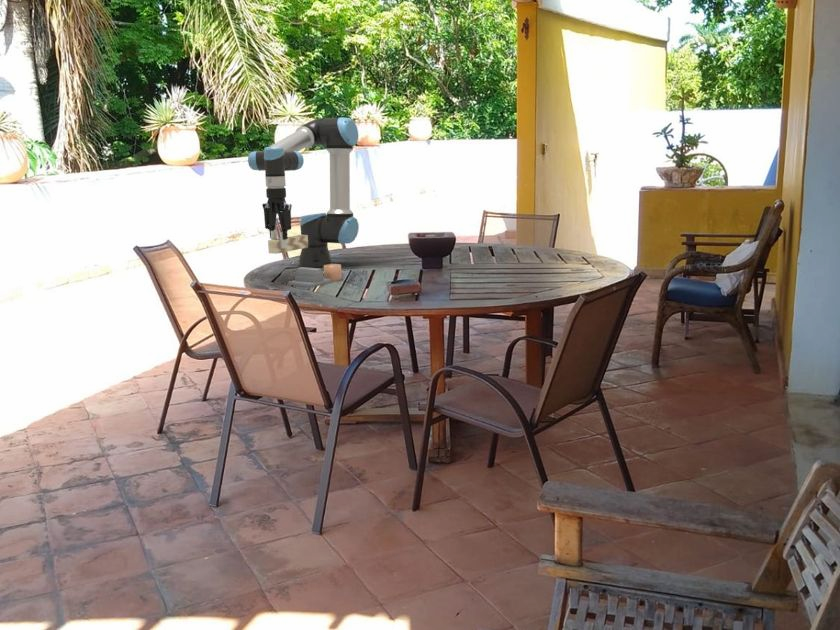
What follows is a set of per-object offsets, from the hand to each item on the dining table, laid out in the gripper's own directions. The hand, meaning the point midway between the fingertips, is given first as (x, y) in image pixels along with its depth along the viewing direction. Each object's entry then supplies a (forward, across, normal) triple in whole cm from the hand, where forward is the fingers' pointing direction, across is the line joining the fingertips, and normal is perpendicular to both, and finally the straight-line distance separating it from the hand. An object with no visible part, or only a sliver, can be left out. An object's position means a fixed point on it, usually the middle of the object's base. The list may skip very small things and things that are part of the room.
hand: (279, 247), depth 317 cm
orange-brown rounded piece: (+15, +12, +17) cm, 26 cm away
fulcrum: (+15, +9, +6) cm, 18 cm away
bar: (+2, 0, +6) cm, 6 cm away
